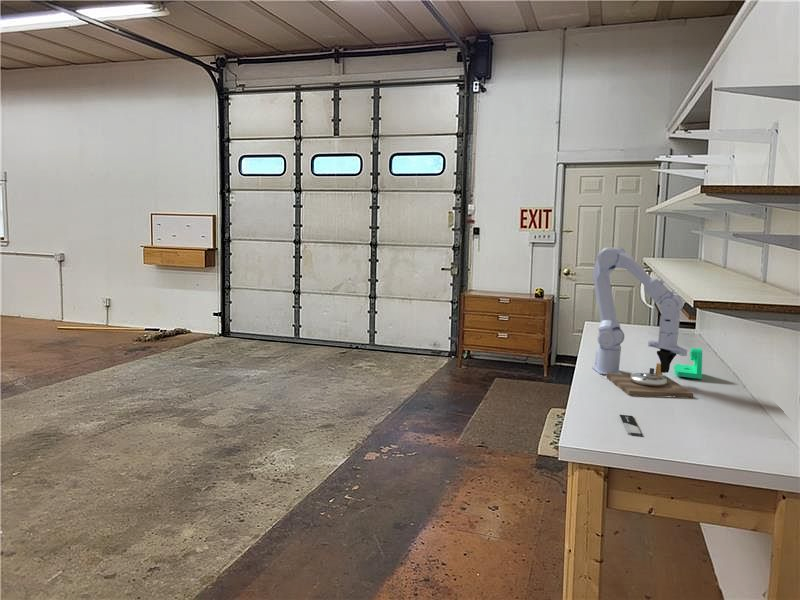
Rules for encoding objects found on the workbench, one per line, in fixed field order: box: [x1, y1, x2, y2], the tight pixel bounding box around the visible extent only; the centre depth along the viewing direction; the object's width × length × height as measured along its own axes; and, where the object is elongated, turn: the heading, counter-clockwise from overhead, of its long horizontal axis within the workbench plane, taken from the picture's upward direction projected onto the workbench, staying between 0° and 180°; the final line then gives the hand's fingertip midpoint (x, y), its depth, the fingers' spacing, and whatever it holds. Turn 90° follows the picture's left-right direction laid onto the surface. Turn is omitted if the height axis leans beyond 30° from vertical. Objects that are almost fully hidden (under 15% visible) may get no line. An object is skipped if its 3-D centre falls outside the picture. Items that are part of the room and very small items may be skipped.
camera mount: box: [673, 347, 703, 380], centre depth 210 cm, size 12×8×10 cm, turn 160°
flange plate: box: [630, 362, 667, 386], centre depth 195 cm, size 15×11×5 cm
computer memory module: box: [619, 414, 645, 438], centre depth 157 cm, size 15×1×4 cm
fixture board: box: [605, 373, 694, 399], centre depth 194 cm, size 20×20×2 cm
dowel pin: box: [648, 367, 655, 374], centre depth 199 cm, size 1×1×3 cm
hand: (664, 372), depth 198 cm, fingers closed
